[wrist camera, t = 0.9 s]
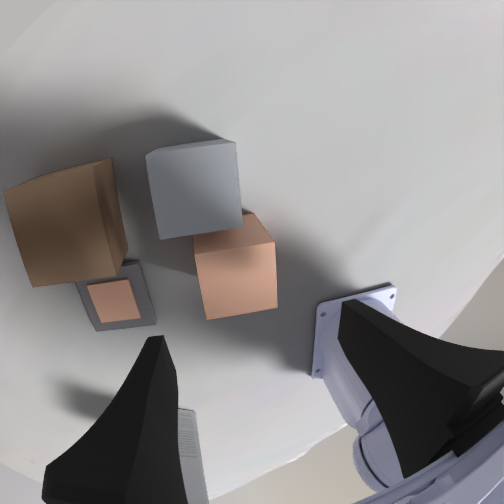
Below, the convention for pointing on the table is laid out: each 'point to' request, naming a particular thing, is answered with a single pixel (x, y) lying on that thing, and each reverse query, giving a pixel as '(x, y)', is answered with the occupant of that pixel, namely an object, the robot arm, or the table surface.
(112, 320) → the tile
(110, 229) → the walnut block
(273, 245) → the terracotta block
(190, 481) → the skincare box
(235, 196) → the slate block
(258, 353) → the table surface
